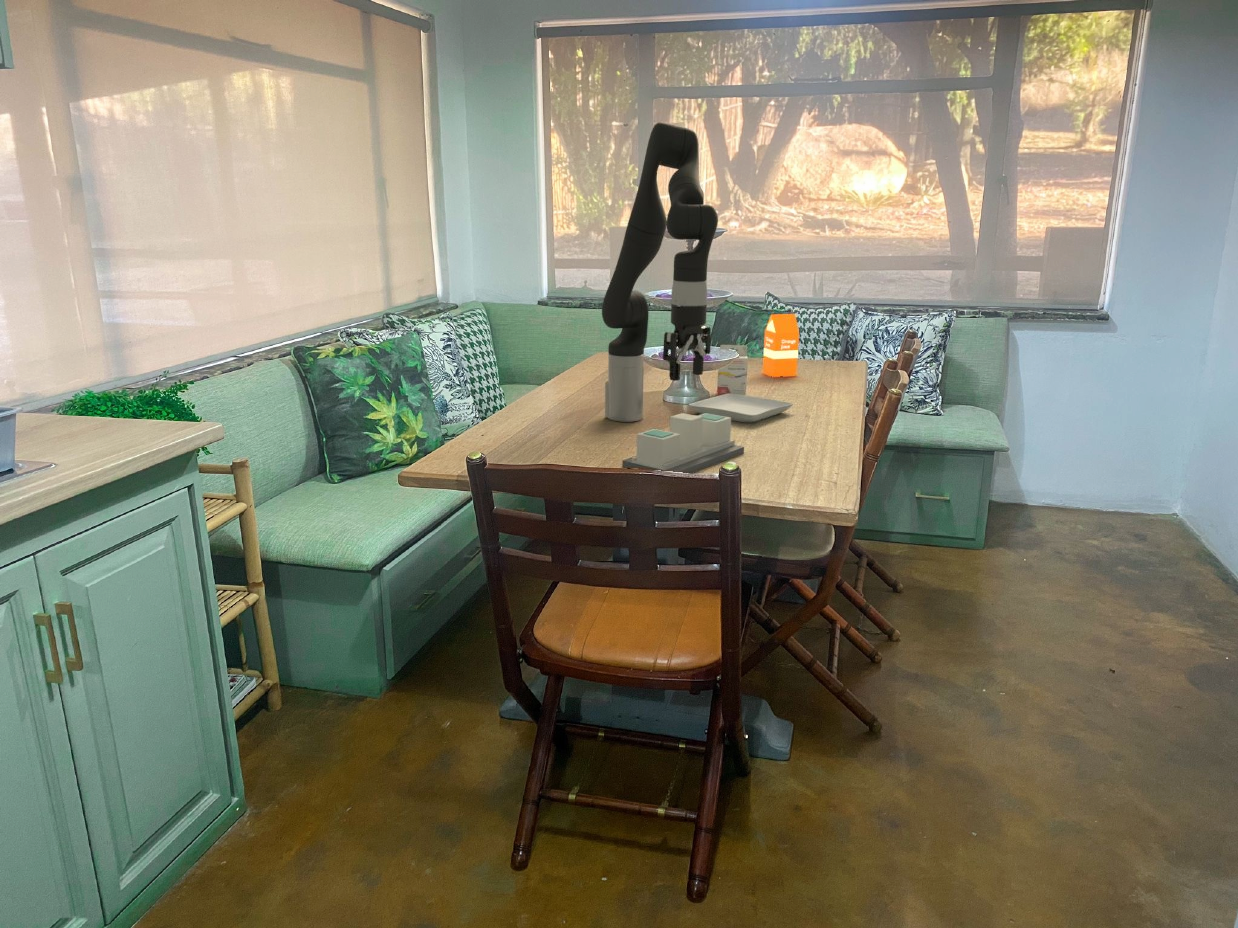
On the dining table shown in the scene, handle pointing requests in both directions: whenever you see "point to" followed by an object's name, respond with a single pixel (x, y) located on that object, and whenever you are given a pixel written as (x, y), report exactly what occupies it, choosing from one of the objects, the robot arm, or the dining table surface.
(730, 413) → the salad plate
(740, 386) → the ink cartridge box
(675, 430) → the loose module
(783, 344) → the orange juice
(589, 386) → the dining table surface
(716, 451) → the board
